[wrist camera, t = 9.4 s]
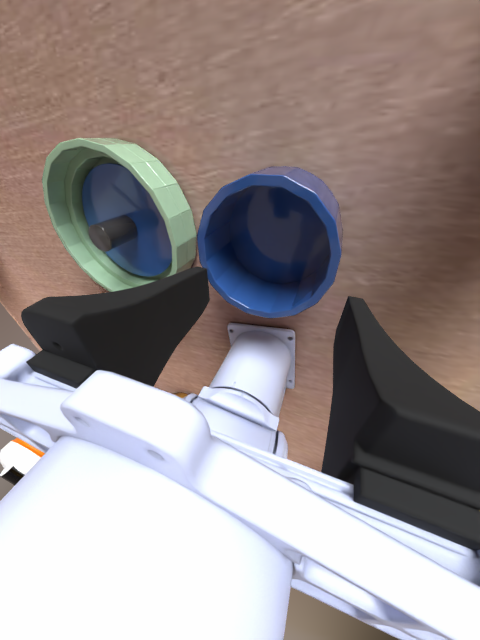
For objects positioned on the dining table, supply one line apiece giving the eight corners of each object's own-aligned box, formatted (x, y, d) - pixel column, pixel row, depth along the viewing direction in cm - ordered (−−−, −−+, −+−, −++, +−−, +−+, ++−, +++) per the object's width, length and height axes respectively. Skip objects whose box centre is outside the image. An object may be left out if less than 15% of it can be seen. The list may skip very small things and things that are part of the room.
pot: (350, 275, 20) (351, 308, 16) (248, 294, 25) (228, 324, 21) (328, 140, 16) (321, 140, 12) (208, 195, 21) (174, 209, 17)
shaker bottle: (78, 380, 57) (-18, 466, 42) (89, 370, 51) (-17, 465, 36) (107, 403, 59) (26, 493, 44) (121, 396, 53) (33, 496, 39)
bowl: (210, 287, 26) (193, 306, 23) (116, 282, 31) (92, 297, 28) (175, 125, 18) (141, 122, 15) (55, 152, 23) (12, 154, 20)
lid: (198, 260, 24) (173, 280, 21) (131, 280, 30) (102, 299, 26) (140, 138, 19) (94, 138, 16) (72, 189, 25) (26, 197, 21)
